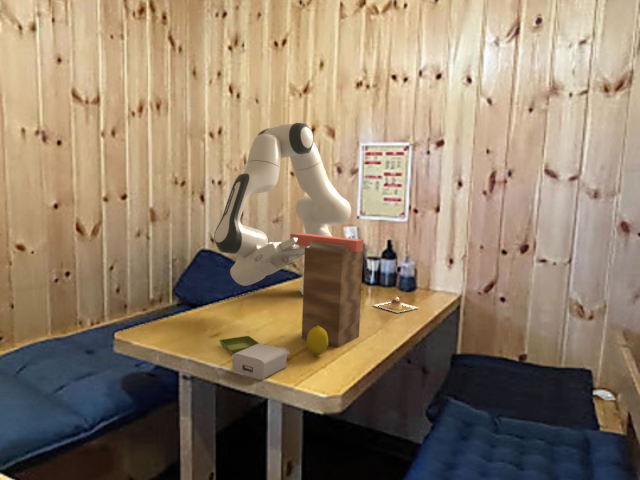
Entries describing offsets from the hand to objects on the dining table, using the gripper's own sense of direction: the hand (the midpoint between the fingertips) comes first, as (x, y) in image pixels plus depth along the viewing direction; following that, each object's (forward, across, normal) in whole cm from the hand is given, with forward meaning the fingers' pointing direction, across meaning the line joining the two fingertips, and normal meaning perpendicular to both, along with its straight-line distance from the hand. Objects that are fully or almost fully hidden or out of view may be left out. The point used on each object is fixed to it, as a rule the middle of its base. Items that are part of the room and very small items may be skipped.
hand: (305, 238), depth 145 cm
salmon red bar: (+5, 0, +5) cm, 7 cm away
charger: (-6, -28, +29) cm, 41 cm away
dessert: (-6, +45, +30) cm, 54 cm away
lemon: (-1, -15, +32) cm, 35 cm away
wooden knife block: (-5, 0, +29) cm, 29 cm away
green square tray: (-18, -23, +23) cm, 37 cm away
